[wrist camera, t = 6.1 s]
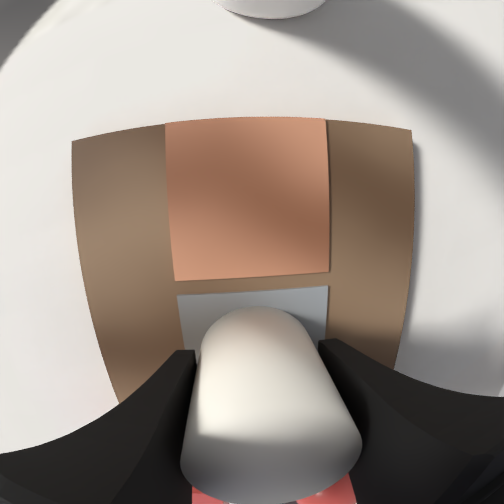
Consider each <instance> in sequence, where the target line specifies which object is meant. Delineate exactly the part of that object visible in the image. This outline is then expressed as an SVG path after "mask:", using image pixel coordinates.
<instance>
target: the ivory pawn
mask: <svg viewBox="0 0 504 504" xmlns="http://www.w3.org/2000/svg"><path fill="white" fill-rule="evenodd" d="M361 450H362V439H361V435H360V433H359V431H358V429H357V427H356V425H355V423H354V421H353V419H352V417H351V415H350V413H349V411H348V409H347V407H346V406H345V404H344V402H343V400H342V398H341V396H340V394H339V392H338V390H337V388H336V386H335V384H334V382H333V380H332V378H331V376H330V375H329V373H328V371H327V369H326V367H325V365H324V363H323V361H322V359H321V357H320V355H319V353H318V352H317V350H316V348H315V346H314V344H313V342H312V340H311V338H310V336H309V334H308V332H307V331H306V329H305V327H304V326H303V325H302V324H301V323H300V322H299V321H298V320H297V319H296V318H295V317H293V316H292V315H290V314H289V313H287V312H285V311H282V310H279V309H276V308H272V307H266V306H251V307H244V308H241V309H237V310H234V311H232V312H230V313H228V314H226V315H224V316H222V317H221V318H220V319H218V320H217V321H216V322H215V323H214V324H213V325H212V326H211V327H210V328H209V330H208V331H207V332H206V334H205V336H204V338H203V341H202V344H201V348H200V353H199V358H198V364H197V369H196V374H195V379H194V384H193V390H192V395H191V401H190V406H189V412H188V417H187V423H186V429H185V435H184V441H183V447H182V453H181V459H180V466H181V470H182V473H183V475H184V476H185V478H186V479H187V481H188V482H189V483H190V484H191V485H192V486H194V487H195V488H196V489H197V490H199V491H201V492H202V493H204V494H206V495H208V496H210V497H213V498H215V499H218V500H221V501H225V502H229V503H234V504H282V503H288V502H292V501H296V500H300V499H303V498H306V497H309V496H312V495H314V494H316V493H318V492H321V491H323V490H325V489H326V488H328V487H330V486H332V485H333V484H335V483H336V482H338V481H339V480H340V479H341V478H343V477H344V476H345V475H346V474H347V473H348V472H349V471H350V470H351V469H352V467H353V466H354V465H355V463H356V462H357V460H358V459H359V456H360V454H361Z"/></svg>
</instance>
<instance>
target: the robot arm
mask: <svg viewBox="0 0 504 504" xmlns="http://www.w3.org/2000/svg"><path fill="white" fill-rule="evenodd" d="M318 353H319V355H320V357H321V359H322V361H323V363H324V365H325V367H326V369H327V371H328V373H329V375H330V376H331V378H332V380H333V382H334V384H335V386H336V388H337V390H338V392H339V394H340V396H341V398H342V400H343V402H344V404H345V406H346V407H347V409H348V411H349V413H350V415H351V417H352V419H353V421H354V423H355V425H356V427H357V429H358V431H359V433H360V435H361V439H362V450H361V454H360V456H359V459H358V460H357V462H356V463H355V465H354V466H353V467H352V469H351V470H350V471H349V472H348V474H349V477H350V480H351V484H352V487H353V490H354V494H355V498H356V502H357V504H504V397H491V396H479V395H472V394H465V393H460V392H456V391H451V390H447V389H443V388H439V387H436V386H432V385H429V384H427V383H424V382H421V381H418V380H415V379H413V378H410V377H408V376H406V375H403V374H401V373H399V372H397V371H395V370H393V369H391V368H389V367H387V366H385V365H383V364H381V363H379V362H377V361H375V360H374V359H372V358H370V357H368V356H367V355H365V354H363V353H361V352H360V351H358V350H356V349H355V348H353V347H351V346H350V345H348V344H346V343H344V342H343V341H341V340H339V339H337V338H332V339H325V340H319V341H318ZM196 369H197V361H196V355H195V350H176V351H175V352H174V353H173V354H172V355H171V356H170V357H169V358H168V359H167V360H166V361H165V362H164V363H163V364H162V365H161V366H160V367H159V368H158V369H157V371H156V372H155V373H154V374H153V375H152V376H151V377H150V378H149V379H147V380H146V381H145V382H144V383H143V384H142V385H141V386H140V387H139V388H138V389H137V390H135V391H134V392H133V393H132V394H131V395H130V396H129V397H127V398H126V399H125V400H124V401H123V402H121V403H120V404H119V405H117V406H116V407H115V408H113V409H112V410H110V411H109V412H107V413H106V414H104V415H103V416H101V417H100V418H98V419H96V420H95V421H93V422H91V423H89V424H87V425H85V426H83V427H82V428H80V429H78V430H76V431H74V432H72V433H70V434H68V435H65V436H63V437H61V438H58V439H56V440H53V441H50V442H47V443H44V444H42V445H38V446H35V447H31V448H27V449H23V450H18V451H14V452H9V453H3V454H0V504H192V485H191V484H190V483H189V482H188V481H187V479H186V478H185V476H184V475H183V473H182V470H181V466H180V459H181V453H182V447H183V441H184V435H185V429H186V423H187V417H188V412H189V406H190V401H191V395H192V390H193V384H194V379H195V374H196Z"/></svg>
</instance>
